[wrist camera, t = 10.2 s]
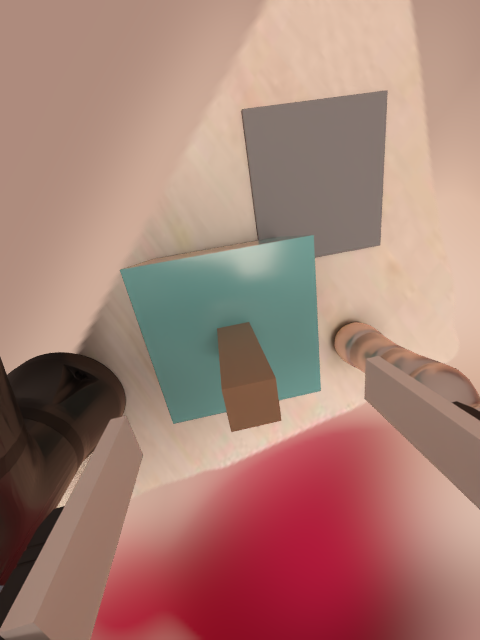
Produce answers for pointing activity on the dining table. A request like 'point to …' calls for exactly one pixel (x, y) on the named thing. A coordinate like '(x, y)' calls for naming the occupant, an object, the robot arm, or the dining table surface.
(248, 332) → the teal base with peg
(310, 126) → the mat
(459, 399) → the plastic bottle
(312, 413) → the dining table surface
